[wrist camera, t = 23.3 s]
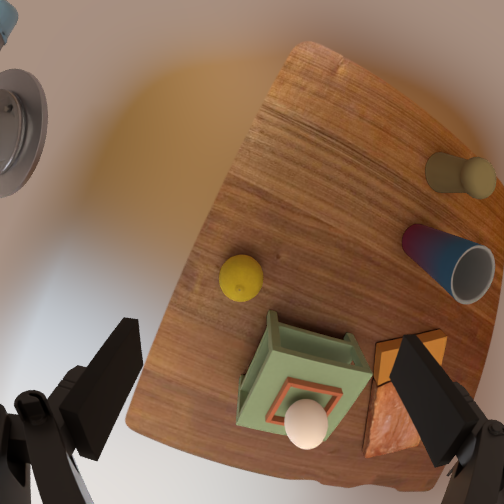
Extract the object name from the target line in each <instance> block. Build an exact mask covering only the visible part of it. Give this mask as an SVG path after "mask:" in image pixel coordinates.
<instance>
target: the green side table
mask: <svg viewBox="0 0 504 504" xmlns="http://www.w3.org/2000/svg"><path fill="white" fill-rule="evenodd" d="M343 339H344V340H340V339H337V338H333V337H329V336H326V335H322V334H318V333H315V332H311V331H308V330H304V329H301V328H297V327H294V326H290V325H287V324H283V323H280V322H278V317H277V312H275V311H272V310H269V312H268V314H267V328H266V330H265V333H264V335H263V337H262V339H261V342H260V344H259V346H258V349H257V351H256V353H255V355H254V358H253V360H252V362H251V364H250V367H249V369H248V371H247V373H246V375H241V377H240V379H239V389H238V403H237V416H236V425H239V426H243V427H248V428H252V429H257V430H262V431H266V432H271V433H277V434H282V435H287V433H286V430H285V425H284V420H285V414H286V412H287V410H288V409H289V407H290V406H291V405H292V404H293V403H295V402H296V401H298V400H301V399H311V400H314V401H316V402H317V403H319V404H320V405H321V406H322V407H323V409H324V410H325V412H326V415H327V419H328V429H327V433H326V436H325V438H324V439H323V441H326V439H327V438H328V437H329V436H330V434H331V433H332V432H333V430H334V429H335V428H336V427H337V425H338V424H339V423H340V421H341V420H342V419H343V417H344V416H345V414H346V413H347V412H348V410H349V409H350V407H351V406H352V405H353V403H354V402H355V400H356V399H357V397H358V396H359V395H360V393H361V392H362V390H363V389H364V387H365V386H366V384H367V383H368V381H369V380H370V378H371V377H372V375H373V373H372V371H371V369H370V367H369V365H368V363H367V361H366V359H365V357H364V355H363V353H362V351H361V349H360V347H359V345H358V343H357V341H356V339H355V337H354V335H353V334H351V333H346V334H345V336H344V338H343ZM352 360H353V361H354V363H355V365H350V364H351V362H352Z"/></svg>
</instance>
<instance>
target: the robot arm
mask: <svg viewBox="0 0 504 504" xmlns="http://www.w3.org/2000/svg"><path fill="white" fill-rule="evenodd" d="M17 20H18V12H17V10H16V9H15V8H14V7H13V6H12V5H11V4H10V3H9V2H8V1H6V0H0V50H1V48H2V47H3V45H5V44H6V43H7V38H8V37H9V35H10V33H11V31H12V30H13V28H14V26H15V25H16V23H17ZM24 133H25V111H24V107H23V104H22V101H21V99H20V98H19V96H18V95H17V94H16V93H15V92H13V91H10V90H5V89H0V175H2V174H4V173H5V172H6V171H7V170H9V168H10V167H11V166H12V165H13V163H14V162H15V160H16V158H17V156H18V154H19V152H20V149H21V146H22V143H23V139H24ZM141 351H142V350H141V342H140V333H139V323H138V319H131V318H125V317H124V318H123V319H122V320H121V322H120V323H119V324H118V326H117V327H116V328H115V330H114V331H113V332H112V333H111V335H110V336H109V337H108V339H107V340H106V341H105V343H104V344H103V346H102V347H101V348H100V350H99V351H98V352H97V354H96V355H95V356H94V358H93V359H92V361H91V362H90V363H89V365H88V366H87V367H83V366H79V365H77V366H76V367H74V368H73V369H71V370H69V371H68V372H67V374H66V375H65V376H64V378H63V380H61V382H60V383H59V384H58V386H57V387H56V388H55V390H54V391H53V392H52V394H51V395H50V396H49V398H48V399H46V397H45V395H44V394H43V393H41V392H39V391H36V390H28V391H25V392H22V393H21V394H20V395H18V397H17V398H16V399H15V402H14V407H15V408H16V411H17V413H18V415H16V414H8V413H7V412H6V410H5V408H4V406H3V405H1V404H0V504H31V490H30V464H31V465H32V469H33V473H34V477H35V480H36V483H37V487H38V490H39V493H40V496H41V499H42V502H43V504H94V502H93V501H92V498H91V496H90V494H89V492H88V490H87V488H86V485H85V483H84V481H83V479H82V476H81V474H80V472H79V469H78V467H77V465H76V462H75V459H74V457H73V455H72V454H73V452H74V450H75V448H76V449H77V451H78V453H79V455H80V456H82V457H85V458H88V459H91V460H94V461H98V459H99V457H100V455H101V452H102V450H103V448H104V446H105V443H106V441H107V439H108V437H109V435H110V433H111V430H112V428H113V426H114V424H115V422H116V420H117V418H118V416H119V413H120V411H121V409H122V407H123V405H124V403H125V401H126V399H127V397H128V395H129V393H130V391H131V389H132V387H133V385H134V383H135V380H136V379H137V377H138V374H139V373H140V371H141V369H142V367H143V360H142V359H143V358H142V352H141ZM389 378H390V380H391V382H392V384H393V386H394V387H395V389H396V391H397V393H398V395H399V397H400V399H401V401H402V403H403V405H404V406H405V408H406V410H407V412H408V414H409V416H410V418H411V420H412V422H413V424H414V426H415V428H416V430H417V432H418V434H419V436H420V438H421V440H422V442H423V444H424V446H425V448H426V450H427V452H428V454H429V456H430V459H431V461H432V463H433V465H434V467H439V466H443V465H446V464H449V463H450V461H451V460H452V459H453V457H454V456H455V455H456V456H457V458H458V461H457V462H456V464H455V465H454V466H453V468H452V469H451V470H450V471H449V473H448V474H447V476H449V475H450V474H451V473H452V475H451V478H450V481H449V484H448V487H447V490H446V492H445V495H444V497H443V500H442V503H441V504H504V425H503V424H502V423H501V422H499V421H497V420H488V419H487V418H486V416H485V415H484V413H483V412H482V411H481V409H480V408H479V407H478V405H477V404H476V402H475V401H474V400H473V398H472V397H471V396H469V395H470V394H469V393H468V392H467V390H466V389H465V388H464V387H463V386H462V385H460V384H459V383H457V382H452V380H451V379H450V378H449V376H448V375H447V374H446V372H445V371H444V370H443V368H442V367H441V366H440V364H439V363H438V362H437V361H436V359H435V358H434V357H433V355H432V354H431V353H430V352H429V350H428V349H427V348H426V347H425V345H424V344H423V343H422V342H421V340H420V339H419V338H418V337H417V335H416V334H415V335H403V338H402V341H401V345H400V348H399V351H398V353H397V356H396V359H395V362H394V365H393V368H392V370H391V373H390V376H389Z"/></svg>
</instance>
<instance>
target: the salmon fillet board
mask: <svg viewBox="0 0 504 504" xmlns="http://www.w3.org/2000/svg"><path fill="white" fill-rule="evenodd" d="M417 337H418V338H419V339H420V340H421V342H422V343H423V344H424V345H425V347H426V348H427V349H428V350H429V352H430V353H431V354H432V355H433V357H434V358H435V359H436V361H437V362H438V363H439V364H440V366H441V363H442V359H443V354H444V350H445V345H446V340H447V336H446V335H445V334H444V333H443V332H442V330H441V329H438V330H434V331H430V332H426V333H422V334H418V335H417ZM401 341H402V338H400V339H395V340H390V341H385V342H380V343H376V354H375V364H374V373H373V377H374V379H373V384H372V390H371V397H370V403H369V411H368V416H367V419H368V420H367V424H366V432H365V437H364V446H363V454H364V457H366V458H370V457H374V456H378V455H383V454H388V453H392V452H395V451H399V450H403V449H407V448H410V447H415V446H418V445H419V443H420V439H421V438H420V436H419V434H418V432H417V430H416V428H415V426H414V424H413V422H412V420H411V418H410V416H409V414H408V412H407V410H406V408H405V406H404V405H403V403H402V401H401V399H400V397H399V395H398V393H397V391H396V389H395V387H394V386H393V384H392V382H391V380H390V378H389V376H390V373H391V370H392V368H393V365H394V362H395V359H396V356H397V353H398V351H399V348H400V345H401Z"/></svg>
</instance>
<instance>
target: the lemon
mask: <svg viewBox="0 0 504 504" xmlns="http://www.w3.org/2000/svg"><path fill="white" fill-rule="evenodd" d="M219 283H220V287H221V289H222V291H223V293H224V294H225V295H226V296H227V297H228V298H230V299H231V300H234V301H238V302H244V301H248V300H250V299H252V298H254V297H255V296H256V295H257V294H258V293H259V291H260V289H261V287H262V284H263V271H262V269H261V266H260V265H259V263H258V262H257V261H256V260H255V259H254V258H252V257H250V256H247V255H236V256H233V257H231V258H229V259H228V260H227V261H226V262H225V263H224V264H223V266H222V267H221V270H220V273H219Z"/></svg>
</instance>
